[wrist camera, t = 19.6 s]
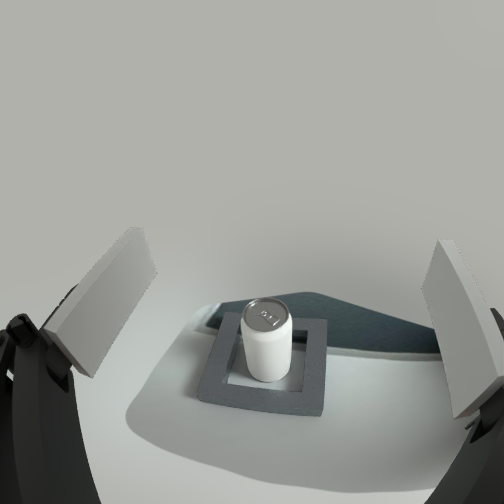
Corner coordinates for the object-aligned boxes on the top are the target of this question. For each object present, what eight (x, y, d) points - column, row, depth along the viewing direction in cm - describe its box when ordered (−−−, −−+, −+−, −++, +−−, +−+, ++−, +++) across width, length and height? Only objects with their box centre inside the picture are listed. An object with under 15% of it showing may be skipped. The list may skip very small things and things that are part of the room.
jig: (325, 329, 45) (327, 319, 43) (320, 416, 32) (323, 409, 30) (227, 321, 48) (225, 311, 47) (200, 400, 35) (196, 393, 34)
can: (268, 342, 44) (264, 287, 37) (299, 363, 40) (303, 310, 33) (239, 366, 40) (227, 314, 33) (269, 391, 36) (266, 343, 29)
